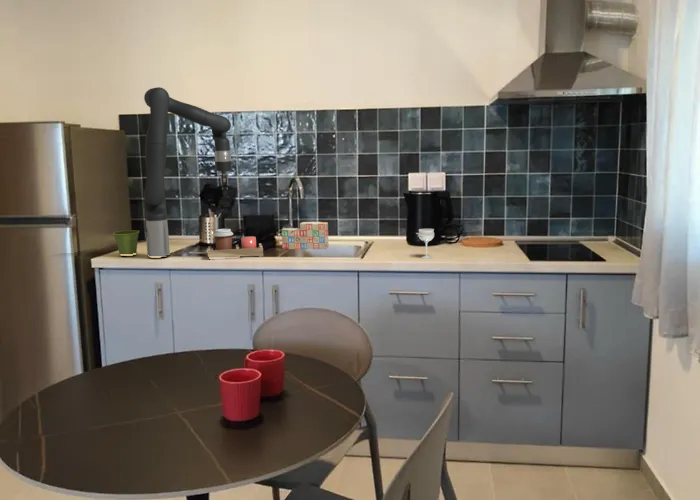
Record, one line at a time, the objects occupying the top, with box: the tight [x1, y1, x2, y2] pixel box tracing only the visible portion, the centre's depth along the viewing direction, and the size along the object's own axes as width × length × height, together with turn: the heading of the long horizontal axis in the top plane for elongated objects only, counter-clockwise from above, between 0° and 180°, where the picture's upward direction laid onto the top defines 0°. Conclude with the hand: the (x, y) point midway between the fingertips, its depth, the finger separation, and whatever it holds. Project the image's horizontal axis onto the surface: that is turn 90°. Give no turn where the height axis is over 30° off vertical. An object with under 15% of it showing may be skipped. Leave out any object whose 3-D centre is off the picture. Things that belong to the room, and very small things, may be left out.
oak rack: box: [207, 243, 264, 258], centre depth 298 cm, size 13×24×4 cm, turn 101°
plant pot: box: [112, 230, 140, 255], centre depth 305 cm, size 12×12×11 cm
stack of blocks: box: [281, 221, 329, 250], centre depth 313 cm, size 21×6×12 cm, turn 78°
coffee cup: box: [212, 228, 234, 250], centre depth 297 cm, size 9×9×12 cm
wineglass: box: [417, 227, 435, 259], centre depth 279 cm, size 7×7×12 cm
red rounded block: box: [240, 235, 257, 249], centre depth 299 cm, size 6×6×8 cm
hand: (225, 197), depth 313 cm, fingers closed
